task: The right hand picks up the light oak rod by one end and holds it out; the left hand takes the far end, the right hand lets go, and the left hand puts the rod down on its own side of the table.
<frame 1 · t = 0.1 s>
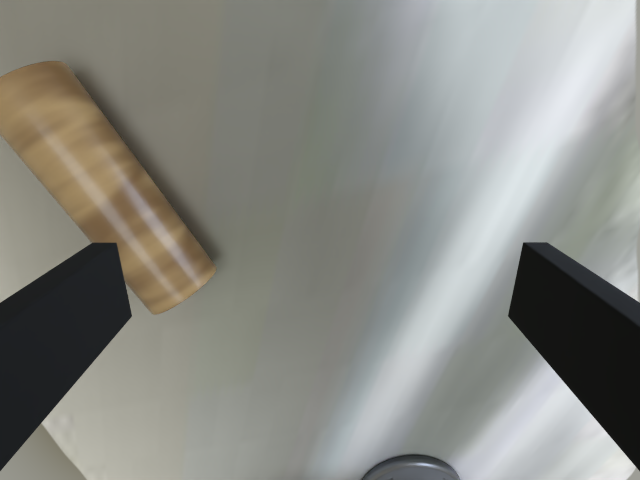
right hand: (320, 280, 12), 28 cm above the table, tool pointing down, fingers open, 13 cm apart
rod: (131, 188, 40), on the table
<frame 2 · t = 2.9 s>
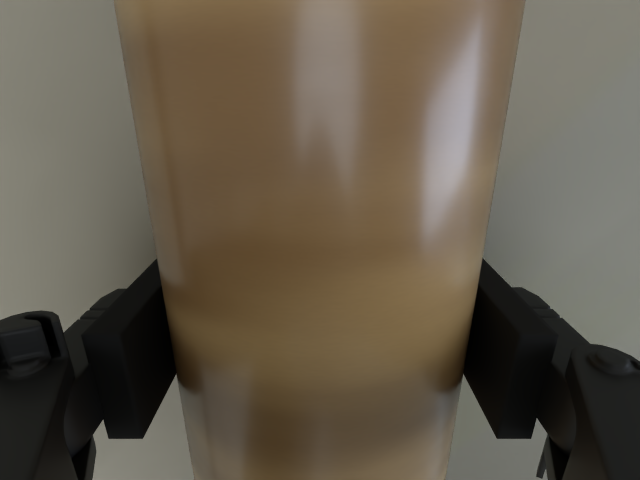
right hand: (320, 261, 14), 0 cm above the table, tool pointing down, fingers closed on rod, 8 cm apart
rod: (319, 39, 12), on the table, touching right hand
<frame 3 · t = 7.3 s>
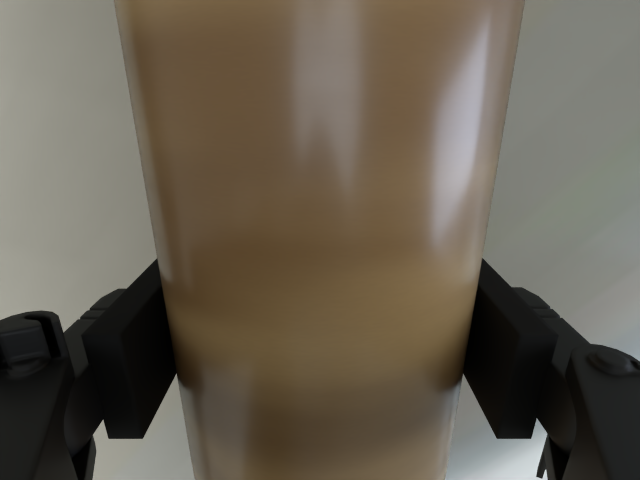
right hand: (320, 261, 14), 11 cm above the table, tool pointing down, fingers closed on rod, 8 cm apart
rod: (319, 38, 12), point 11 cm above the table, touching right hand, left hand
when the right hand's fingers open (11 cm above the table, at t = 8.3 s): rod stays where it is, held by the left hand.
when the left hand's fingers open (2 cm above the table, at t = 14.1 s): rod drops 2 cm, on the table.
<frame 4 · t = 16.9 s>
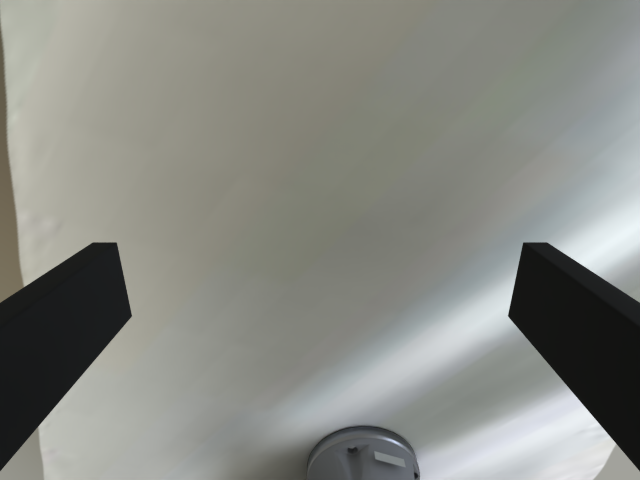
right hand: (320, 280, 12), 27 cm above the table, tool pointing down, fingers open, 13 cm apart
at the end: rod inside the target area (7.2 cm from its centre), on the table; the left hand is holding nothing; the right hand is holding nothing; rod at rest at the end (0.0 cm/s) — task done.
